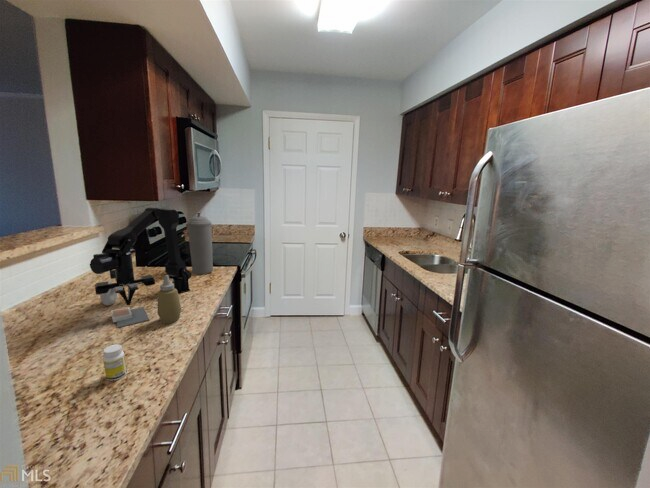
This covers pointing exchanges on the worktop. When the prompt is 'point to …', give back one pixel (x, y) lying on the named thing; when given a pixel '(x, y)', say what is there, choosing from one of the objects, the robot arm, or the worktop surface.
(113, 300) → the donut
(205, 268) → the canister
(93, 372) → the worktop surface
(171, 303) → the squeeze bottle
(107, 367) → the supplement bottle
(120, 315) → the tile
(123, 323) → the mat
